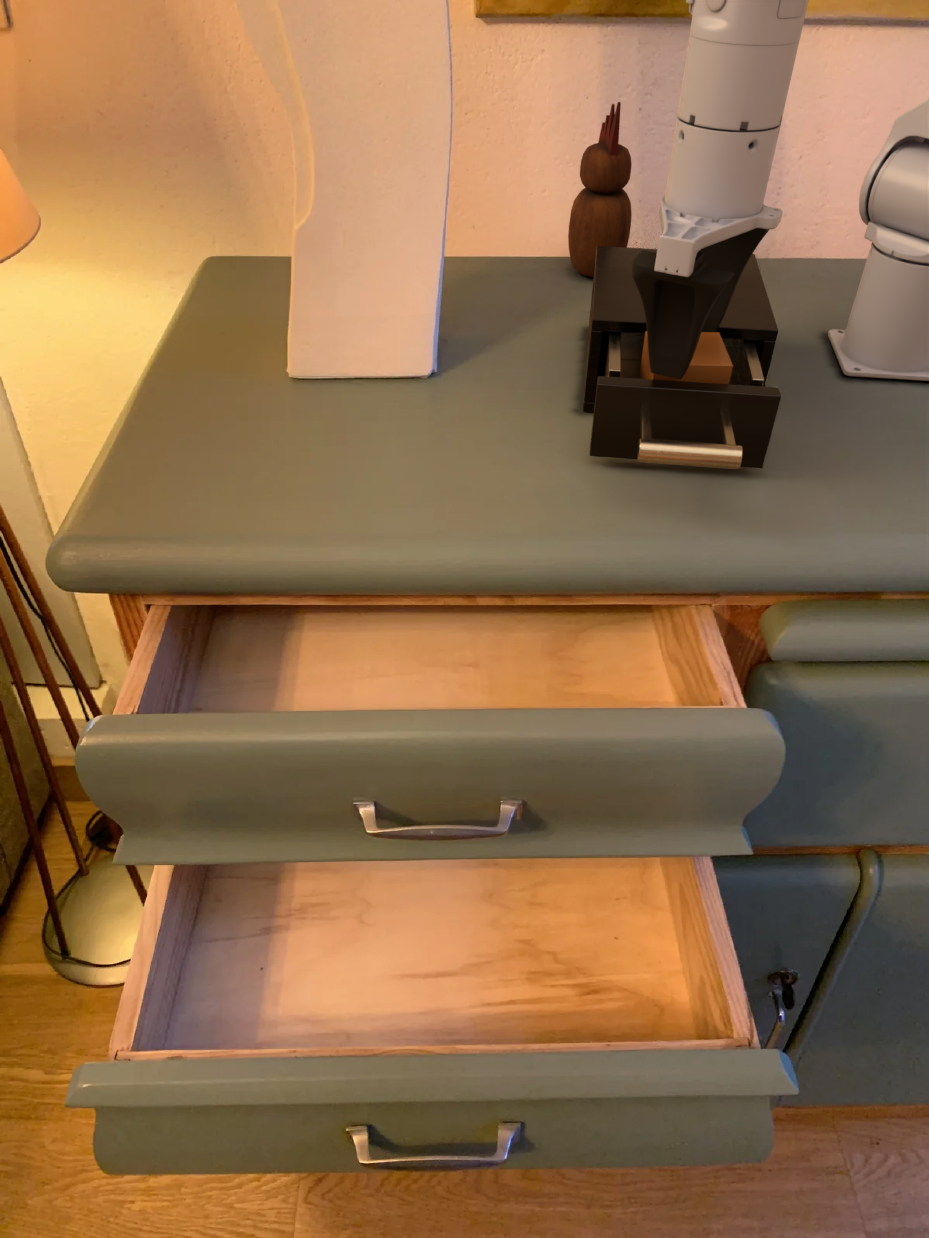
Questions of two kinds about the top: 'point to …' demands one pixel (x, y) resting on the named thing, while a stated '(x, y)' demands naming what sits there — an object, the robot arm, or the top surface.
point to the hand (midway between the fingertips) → (684, 350)
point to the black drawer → (682, 411)
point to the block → (697, 362)
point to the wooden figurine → (601, 198)
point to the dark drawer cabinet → (624, 312)
